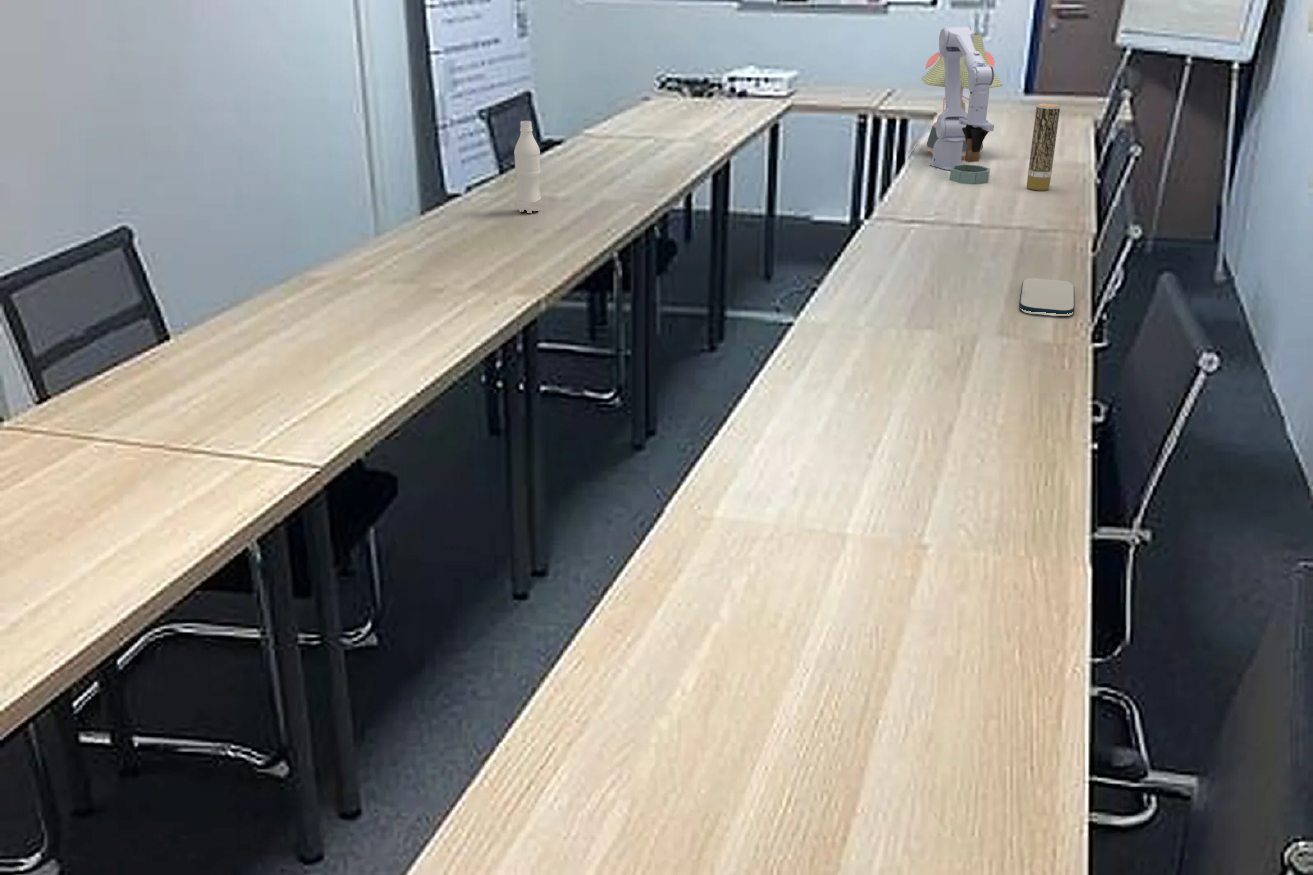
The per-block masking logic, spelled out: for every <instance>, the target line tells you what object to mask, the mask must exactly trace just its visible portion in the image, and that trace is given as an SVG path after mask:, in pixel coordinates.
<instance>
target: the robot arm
mask: <svg viewBox="0 0 1313 875" xmlns="http://www.w3.org/2000/svg"><path fill="white" fill-rule="evenodd" d="M974 33H975V29H974V28H973V27H972V26H971V25H970V26H953V27H952V26H943V27H942V28H941V30H940V33H939V36H938V48H939V50H938V52H939V53H940V55H941V56H943V57H944V67H945V87H944V95H945V96H944V98H945V100H944V106H945V108H944V111H942V112H941V113H939V114H938V115H937V118H936V122H937V126H936V134H937V137H938V138H939V139H938V140H937V141H936V142H935V144H934V149H933V154H932V159H931V160H932V162H930V163H929V165H930V166H933V167H936V168H939V169H942V170H946V171H951V168H952V166H956V165H962V159H961V158H962V148H963V141H965V139H966V144H967V138H972V140H973V143H972V151H973V152H979V150H980V147H981V145H982V142H984V140H985V139H986V136H987V135H988V134H989V132H994V130H995V124H993V123H991V122H989V120H987V115H988V105H989V99H990V98H989V97H990V96H989V95H990V85H992V83H993V81H994V73H995V71H994V70H995V69H994V67H992V66H989V65H986V63H985V61H984V59H983V57H982V55H981V53H980V52H979V51H976V50H975V47H974V44H973V42H974V36H975V35H974ZM962 56H964V57H965V58H964V64H965V67H966V69H967V71H968V73H969V75H968V81H969V89H968V91H969V95H968V96H969V98H968V99H969V100H968V107H967V108H968V109H967V111H966V110H965V111H966V112H965V111H964V110H962V109H961V88H960V58H961V57H962ZM945 119H946V120H945Z"/></svg>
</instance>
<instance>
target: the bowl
mask: <svg viewBox="0 0 1313 875" xmlns="http://www.w3.org/2000/svg"><path fill="white" fill-rule="evenodd" d="M949 173H950V174H949V181H952V182H956V183H958V184H970V185H971V184H972V185H978V184H988V182H989V181H990V175H991V174H990V173H991V168H990V167H987V166H983V165H980V164H979V165H975V164H961V165H956V166H952V168H951V170H950V172H949Z"/></svg>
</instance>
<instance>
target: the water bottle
mask: <svg viewBox="0 0 1313 875" xmlns="http://www.w3.org/2000/svg"><path fill="white" fill-rule="evenodd" d="M519 131H520V135H519V138H518V139H517V142H516V144H515V146H514V152H513V154H514V172H515V176H516V181H517V195H516V200H517V201H518V202H536V201H538V200H540V199H542V197H541V191H540V190H541V189H540V176H541V175H540V174H541V156H540V154H541V151H540V150H541V149H540V147H539V145H538V143H537V140H536V139H535V137H534V135H533V125H532V121H531V120H521V121H520V129H519ZM516 200H515V201H516Z"/></svg>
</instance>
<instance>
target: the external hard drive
mask: <svg viewBox="0 0 1313 875" xmlns="http://www.w3.org/2000/svg"><path fill="white" fill-rule="evenodd" d="M1019 295H1020V296H1019V301H1018V302H1019V303H1018V304H1019V305H1018V308H1019V307H1020V308H1021V309H1023V310H1026V311H1031V312H1046V313H1056V314H1067V313H1068V314H1069V313H1072V312H1075V285H1074V283H1072V282H1070V281H1067V280H1060V279H1049V278H1039V277H1034V278H1033V277H1029V278H1024V279H1023V280H1022V282H1021V289H1020V294H1019Z"/></svg>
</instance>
